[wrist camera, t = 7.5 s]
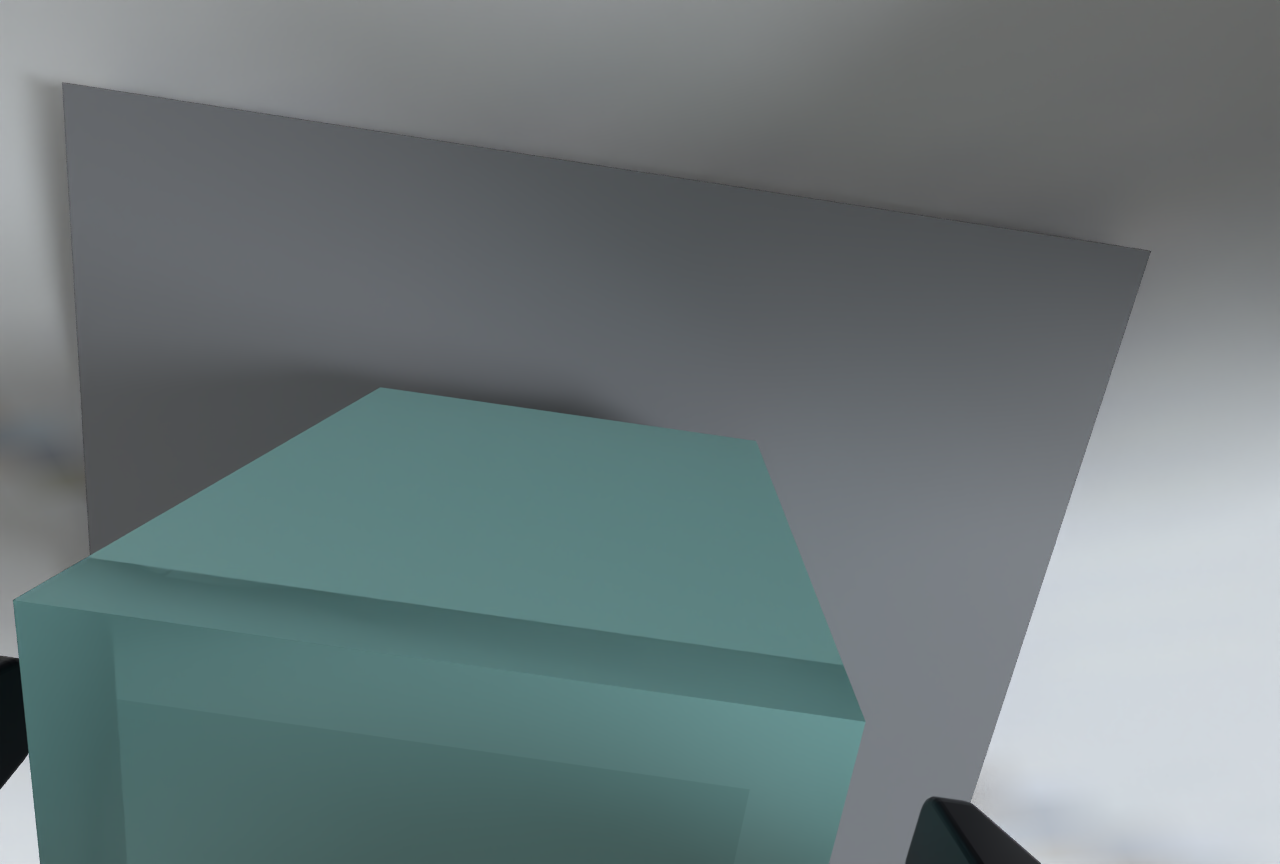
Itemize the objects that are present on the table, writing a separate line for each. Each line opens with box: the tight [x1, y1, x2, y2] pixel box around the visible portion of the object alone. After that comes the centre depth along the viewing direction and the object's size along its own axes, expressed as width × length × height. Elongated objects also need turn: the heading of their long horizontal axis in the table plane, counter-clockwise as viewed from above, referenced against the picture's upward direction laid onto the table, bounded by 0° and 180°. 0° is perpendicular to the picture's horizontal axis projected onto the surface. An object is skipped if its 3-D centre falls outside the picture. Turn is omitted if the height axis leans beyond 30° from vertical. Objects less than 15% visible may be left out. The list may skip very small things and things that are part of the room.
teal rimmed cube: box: [13, 387, 865, 864], centre depth 8 cm, size 5×5×6 cm
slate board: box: [62, 82, 1151, 864], centre depth 15 cm, size 16×26×1 cm, turn 172°
